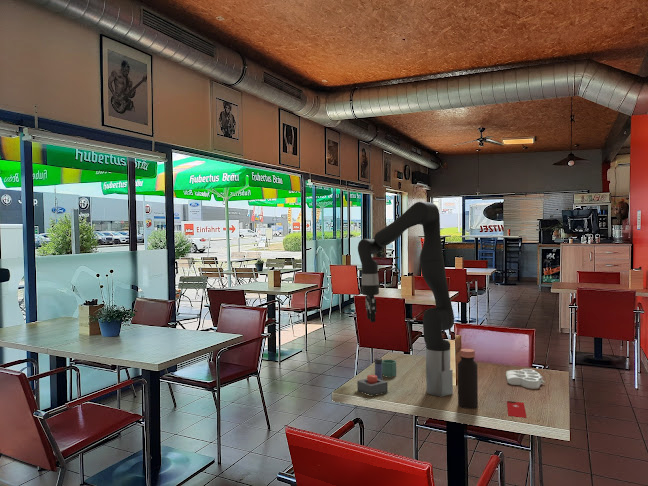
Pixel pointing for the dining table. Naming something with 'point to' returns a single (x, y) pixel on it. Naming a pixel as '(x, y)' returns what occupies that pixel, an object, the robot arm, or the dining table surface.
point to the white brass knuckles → (524, 378)
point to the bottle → (467, 380)
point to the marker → (378, 368)
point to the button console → (372, 387)
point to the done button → (371, 379)
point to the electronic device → (516, 409)
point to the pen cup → (389, 368)
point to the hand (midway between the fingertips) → (371, 320)
